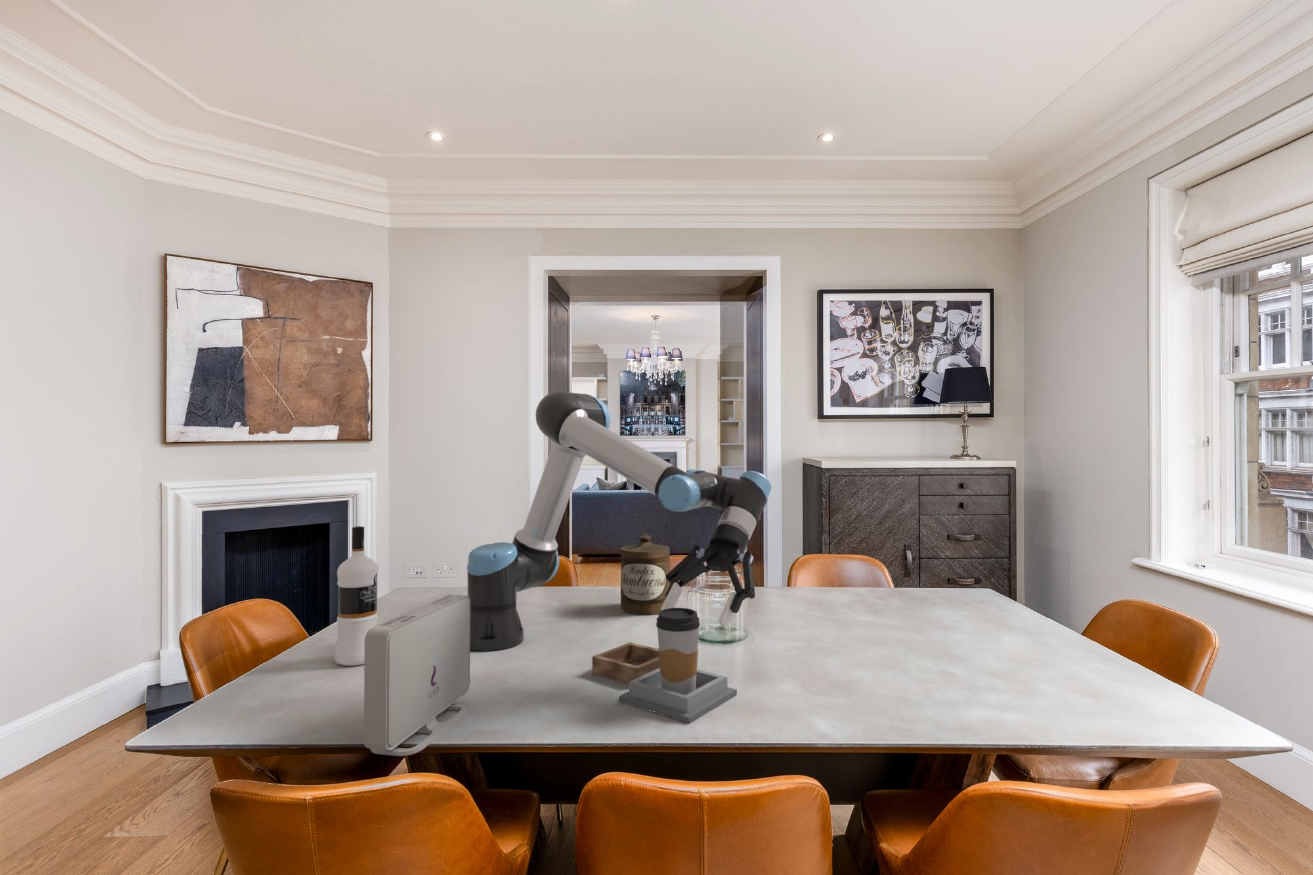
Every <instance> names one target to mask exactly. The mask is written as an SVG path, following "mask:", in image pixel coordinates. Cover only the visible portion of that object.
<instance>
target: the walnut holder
mask: <svg viewBox="0 0 1313 875" xmlns="http://www.w3.org/2000/svg"><path fill="white" fill-rule="evenodd" d="M591 659H592V660H591V661H592V665H591V666H592V670H591V671H592V672H591V674H593V675H597V676H600V677H603V678H608V679H611V680H613V681H618V682H621V683H624V684H627V683H628V685H629V681H632V680H634V679H636V678H638V677H641V676H643V675H645V674H647V673H649V672H652V671H654V670H656V669H658V668H660V663H659V650H658V648H656V647H651V646H647V645H644V644H639V643H634V642H631V641H630V642H628V643H625V644H622V645H619V646H617V647H614V648H611V649H608V650H606V651H603V652H601V653H598V654H596V655H592V658H591ZM631 661H632V662H636V663H639V664H638V665H635V664H631V663H628V662H631Z"/></svg>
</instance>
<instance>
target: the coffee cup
mask: <svg viewBox="0 0 1313 875" xmlns="http://www.w3.org/2000/svg"><path fill="white" fill-rule="evenodd" d="M655 626H656V628H657V640H658V642H657V643H658V648H657V649H658V650H659V663H660V674H661V684H662V688H663V689H666V690H670V691H673V692H677V693H680V694H684V695H687V694H689V693H690V692H692V691H694V690H695V689H696V673H697V669H698V658H699V656H698V655H699V634H700V632H699V631H700V626H701V623H700V618H699V616H698V613H697V611H696V610H694V609H692V608H686V607H674V608H669V609H664V610H661V611H660V612H659V614H658V617H656V624H655Z"/></svg>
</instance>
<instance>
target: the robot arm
mask: <svg viewBox="0 0 1313 875" xmlns="http://www.w3.org/2000/svg"><path fill="white" fill-rule="evenodd" d="M535 421H536V425H537V427H538V429H539V430H540V432H541V433H542V434H544V436H546V437H547V438H548V439H549V442H550V443H551V449H550V451H549V455H548V458H547V459H546V460H547V461H546V463H545V464H544V465H545V466H544V469H543V472H542V475H541V477H540V480H539V483H538V486H537V488H536V492H535V494H534V498H533V499H532V503H531V505H530V509H529V512H528V515H527V518H526V519H525V520H526V521H525V523H524V526H523V528H522V529H519V530H517V531H516V532H515V535H514V536H513V540H512V543H511V542H494V543H486V544H482V545H480V546H477V547H475V548H473V549H472V550H470V552H469V553H468V561H467V566H466V572H467V596H469V598H470V651H477V652H479V651H480V652H482V651H483V652H485V651H488V652H489V651H500V650H505V649H510V648H512V647H515V646H518V645H519V644H521V643H523V642H524V640H525V639H524V637H525V635H524V633H525V631H524V628H523V624H522V622H521V618H520V616H519V611H518V608H517V598H518V597H517V593H519V592H522V591H525V590H528V589H532V588H537V587H539V586H542V585H544V584H545V583H546V584H547V583H548V582H550V581H551V580H552V579H553V577H555V575H556V574H557V572H558V569H559V566H560V557H559V552H558V547H559V544H558V542H557V541H556V540H557V539H556V536H557V532H558V529H559V527H560V525H561V522H562V519H563V515H564V513H565V511H566V509H567V508H566V507H567V505H568V503H569V499H570V497H571V494H572V491H573V488H574V485H575V484H576V483H575V482H576V480H577V477H578V476H579V472H580V469H581V466H582V463H583V461H584V458H585V457H586V456H588V457H590V458H591V459H594V461H596V462H598V463H600V464H602V465H603V466H605V467H606V468H608V469H610V470H612V471H614V472H615V473H617V474H618V475H620V476H622V477H623V478H625V479H627V480H628V481H630V482H632V483H634V484H635V485H637V486H638V487H641V488H642V489H644V490H646V491H647V492H649V493H650V494H653V495H654V496H656V497H658V499H659V501H660V503H661V505H663V508H665V509H667V510H669V511H671V512H679V513H682V512H683V513H684V512H688V511H691V510H694V509H695V510H696V509H699V508H700V509H701V508H705V507H711V508H715V509H719V510H722V511H723V512H722V514H721V516H720V518H719V520H718V522H717V525H716V527H715V529H713V530H714V531H713V533H712V535H711V537H710V540H709V545H708V546H707V547H706V548H701V547H700V545H699V544H696V545H694V546H693V547H692V549H691V550H690V553H688V554H687V555H686V556H685V557H683V559H682V560H681V561H679V562H678V564H676V565H675V567H673V568H672V569H670V572H669V573H668V574H667V575H666V576H665V577H666V579H667V580H668V582H669V583H670V586H669V588H668V590H667V592H666V594H665V597H666V600H665V601H664V603H663V605H662V607H661V609H660V610H664V609H669V608H676V604H678V601H679V599H680V597H681V594H682V592H683V589H682V588H683V587H684V586H685V585H687V584H689V583H690V582H692V581H693V580H694V579H696V578H698V577H700V576H701V575H702V574H704V573H705V574H707V573H708V572H710V571H712V572H720V573H725V572H727V573H728V575H729V578H730V580H731V583H732V585H733V588H734V591H730V593H729V595H728V598H727V599H726V602H725V605H723V606H724V607H723V609H722V611H721V613H720V616H719V618H718V621H717V622H718V623H719V625H720V626H721V628H722V629H723V630H728V628H729V626H730V623H731V621H732V619H733V616H734V615H735V614H737V613H738V612H739V611H740V608H741V607H742V604H743V601H744V600H746V599H748V598H749V599H752V600H753V599H754V598H755V597H756V592H755V590H756V588H755V581H754V569H753V566H754V562H755V558H754V555H752V552H751V551H750V550H746V549H747V547H748V544H749V540H750V539H751V537H752V535H753V532H754V530H755V529H756V526H757V525H758V524H757V523H758V521H759V520H760V517H761V515H762V512H763V511H764V509H765V506H766V505H767V503H768V499H769V497H770V494H771V492H772V484H771V482H770V480H769V479H768V477H766V475H764V474H763V473H761V472H759V471H756V470H750V471H744V472H743V473H742V474H741V475H740V476H739V478H736V477H728V476H724V475H720V474H717V473H712V472H708V471H706V470H702V469H700V470H699V469H694V468H692V469H688V470H687V471H684V470H682V469H680V468H678V467H677V466H675V465H674V464H671V463H670V462H668V461H666V460H664V459H663V458H661V457H659V456H657V455H656V454H654V453H653V452H650V451H648V450H647V449H645V448H643V447H641V446H640V445H638V444H636V443H634V442H633V441H630V439H629V440H628V439H627V438H625V437H623V436H622V435H620V434H618V433H616V432H614V431H613V430H611V429H609V428H610V427H611V426H610V425H611V414H610V411H609V409H608V407H607V405H606V403H605V402H604V401H603V400H602V399H600V398H599V397H597V396H593V395H590V394H588V393H578V392H577V393H576V392H569V391H564V390H563V391H562V390H561V391H560V390H558V391H554V392H551V393H548V394H546V395H545V396H544V397H543V398H542V399H540V401H539V402H538V404H537V406H536V410H535ZM740 562H742V574H743V585H744V588H743V586H742V583H741V581H740V579H739V576H738V572H737V570H736V567H735V566H736V565H738V564H739V563H740ZM705 564H706V565H705Z"/></svg>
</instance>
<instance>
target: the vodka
mask: <svg viewBox="0 0 1313 875" xmlns="http://www.w3.org/2000/svg"><path fill="white" fill-rule="evenodd" d="M378 571H379V566H378V563H377V562H376V561H375V560H373V559H371V558H370V557H368V556H367V555H365V526H361V525H356V526H353V527H352V528H351V556H350V557H348V558H347V559H345V560H344V561H343V562H342V563H340V565H339V566H338V568H337V571H336V576H337V582H336V583H337V585H338V586H337V587H338V590H337V591H338V594H337V595H338V598H337V599H338V601H337V602H338V604H337V605H338V606H337V609H338V610H337V612H338V614H337V617H336V621H337V639H336V640H337V641H336V648H335V650H334V658H333V659H334V661H335V663H336V664H337V665H339V666H342V667H356V666H363V665H364V651H365V636H366V633H367V632H368V630H369V629H370V628H372V627H374V626H376V625H378V616H379V613H378Z"/></svg>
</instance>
